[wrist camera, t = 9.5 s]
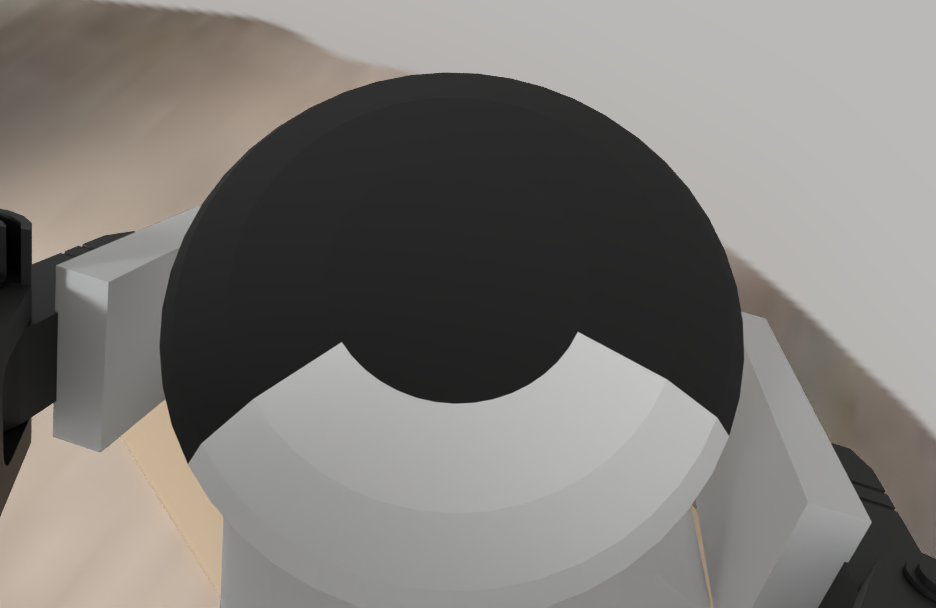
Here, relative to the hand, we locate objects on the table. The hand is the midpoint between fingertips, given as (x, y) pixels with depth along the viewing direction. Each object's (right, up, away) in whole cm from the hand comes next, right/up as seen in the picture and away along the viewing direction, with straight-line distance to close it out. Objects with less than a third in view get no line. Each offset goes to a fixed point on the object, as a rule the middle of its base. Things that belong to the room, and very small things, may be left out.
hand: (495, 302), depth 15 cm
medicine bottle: (-1, -4, +3) cm, 5 cm away
